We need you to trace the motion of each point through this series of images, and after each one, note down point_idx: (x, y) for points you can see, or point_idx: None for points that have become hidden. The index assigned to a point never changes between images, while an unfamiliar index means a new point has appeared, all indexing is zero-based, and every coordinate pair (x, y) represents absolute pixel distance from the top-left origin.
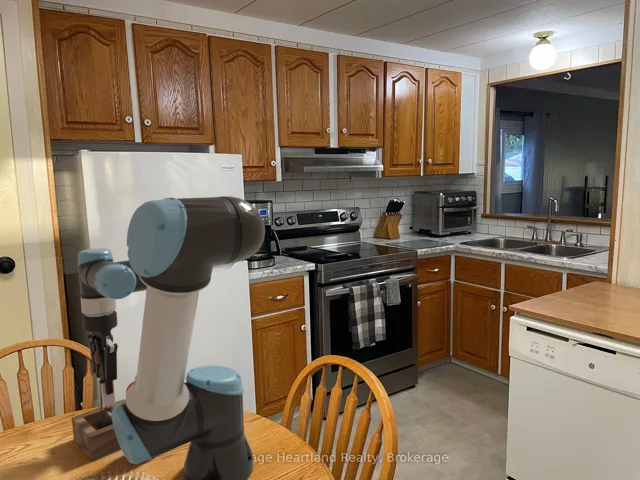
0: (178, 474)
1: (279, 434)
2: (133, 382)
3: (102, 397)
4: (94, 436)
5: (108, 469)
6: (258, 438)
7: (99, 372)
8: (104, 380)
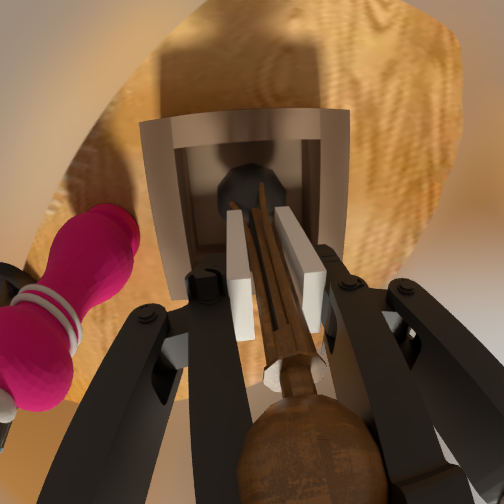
0: (25, 262)
1: (80, 397)
2: (2, 380)
3: (237, 229)
4: (142, 136)
5: (99, 148)
6: (79, 381)
7: (293, 322)
8: (189, 305)
